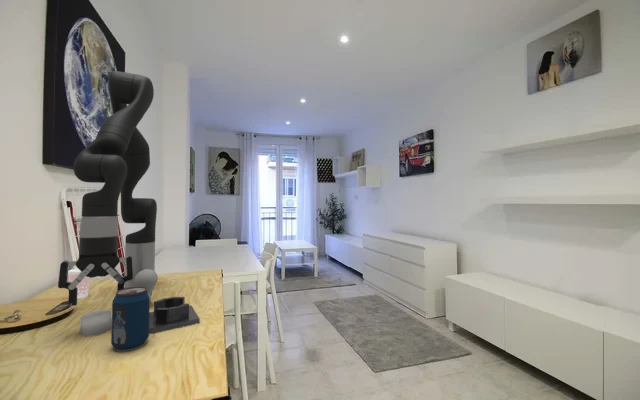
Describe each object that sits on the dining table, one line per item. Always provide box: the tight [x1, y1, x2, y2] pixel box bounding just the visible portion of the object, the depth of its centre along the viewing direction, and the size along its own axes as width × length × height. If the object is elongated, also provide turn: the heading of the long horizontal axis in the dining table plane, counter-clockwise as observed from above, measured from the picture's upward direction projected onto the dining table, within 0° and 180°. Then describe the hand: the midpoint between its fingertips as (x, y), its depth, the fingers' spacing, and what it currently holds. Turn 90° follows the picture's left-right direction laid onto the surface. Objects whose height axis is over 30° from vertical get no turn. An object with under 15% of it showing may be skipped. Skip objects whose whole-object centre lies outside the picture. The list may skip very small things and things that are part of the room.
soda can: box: [110, 287, 151, 352], centre depth 63 cm, size 7×7×12 cm
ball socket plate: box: [149, 296, 201, 335], centre depth 76 cm, size 12×12×5 cm
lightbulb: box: [134, 269, 158, 303], centre depth 87 cm, size 6×6×11 cm
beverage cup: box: [68, 268, 91, 300], centre depth 95 cm, size 6×6×14 cm
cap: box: [79, 309, 112, 337], centre depth 69 cm, size 6×6×4 cm
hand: (97, 301), depth 69 cm, fingers open, 8 cm apart
